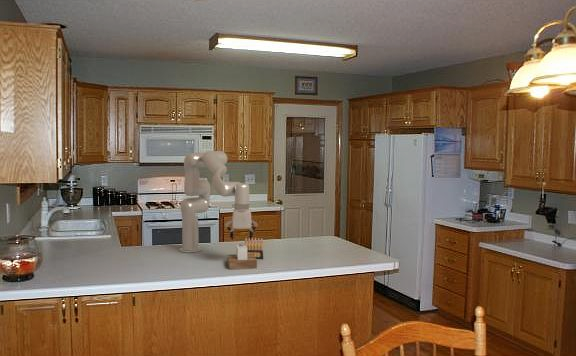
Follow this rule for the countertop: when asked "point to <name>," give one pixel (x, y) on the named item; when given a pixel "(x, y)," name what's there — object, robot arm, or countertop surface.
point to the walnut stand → (242, 262)
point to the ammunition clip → (255, 248)
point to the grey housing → (241, 252)
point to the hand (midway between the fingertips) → (241, 238)
